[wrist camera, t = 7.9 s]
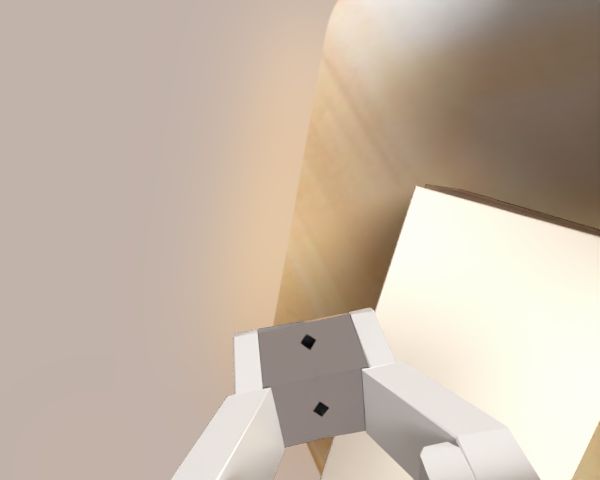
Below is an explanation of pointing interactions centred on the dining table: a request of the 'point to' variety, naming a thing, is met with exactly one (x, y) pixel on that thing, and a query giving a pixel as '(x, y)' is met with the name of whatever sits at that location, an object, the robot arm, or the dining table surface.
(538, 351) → the lid
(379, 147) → the dining table surface
